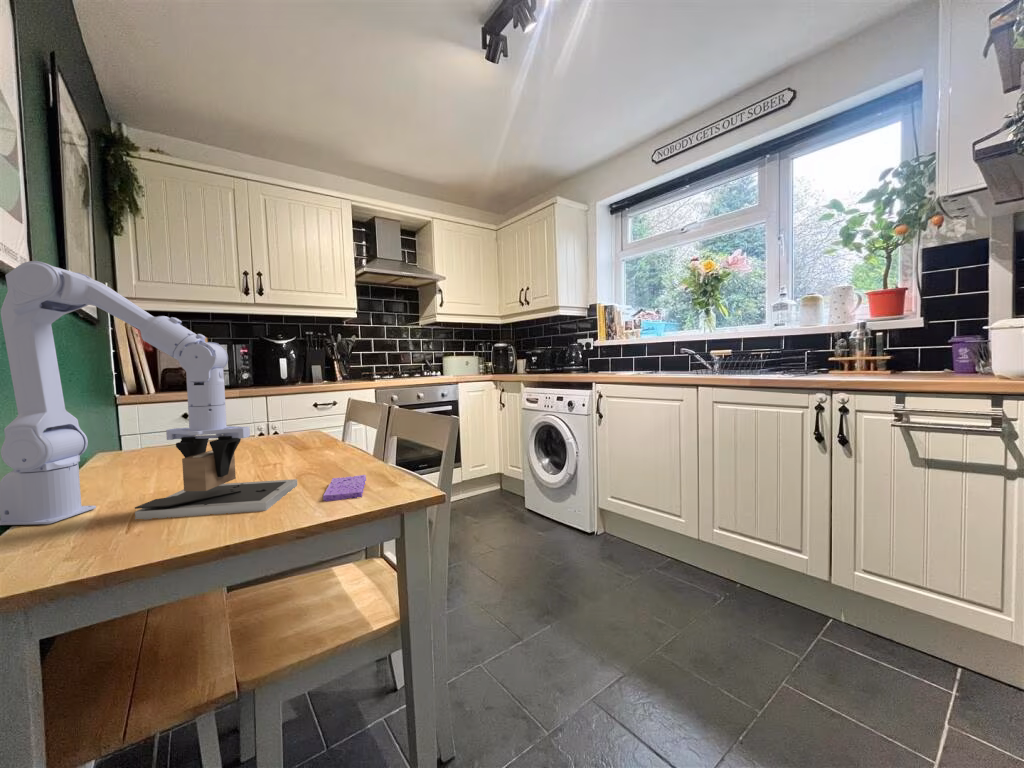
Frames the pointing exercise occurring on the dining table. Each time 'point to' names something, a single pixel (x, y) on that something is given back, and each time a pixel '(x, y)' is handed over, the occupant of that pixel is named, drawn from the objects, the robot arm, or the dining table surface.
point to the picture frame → (218, 500)
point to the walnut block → (204, 472)
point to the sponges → (345, 488)
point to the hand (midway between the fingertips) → (210, 475)
